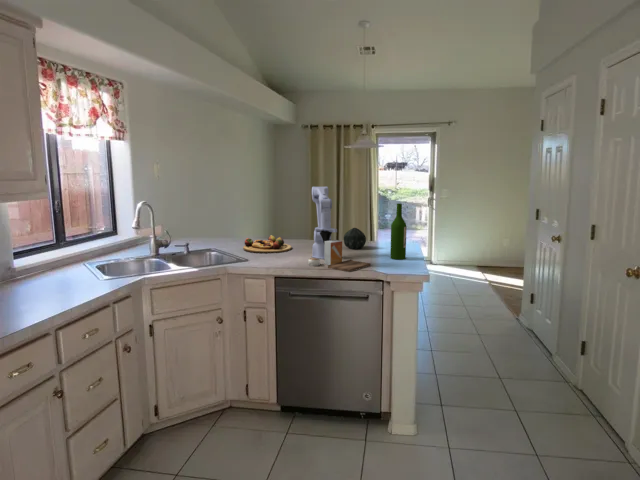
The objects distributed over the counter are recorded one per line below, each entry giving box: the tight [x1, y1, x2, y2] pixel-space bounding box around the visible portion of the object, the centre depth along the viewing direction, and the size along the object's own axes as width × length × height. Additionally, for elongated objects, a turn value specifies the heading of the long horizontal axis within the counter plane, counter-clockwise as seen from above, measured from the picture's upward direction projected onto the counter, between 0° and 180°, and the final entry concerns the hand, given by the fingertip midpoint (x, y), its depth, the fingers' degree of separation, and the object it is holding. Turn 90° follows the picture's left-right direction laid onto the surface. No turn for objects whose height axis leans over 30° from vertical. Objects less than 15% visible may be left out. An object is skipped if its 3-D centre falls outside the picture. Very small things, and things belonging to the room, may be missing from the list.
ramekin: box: [307, 257, 321, 267], centre depth 251 cm, size 6×6×4 cm
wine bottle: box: [389, 203, 407, 261], centre depth 267 cm, size 9×9×32 cm
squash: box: [343, 227, 367, 250], centre depth 302 cm, size 14×15×15 cm
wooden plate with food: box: [242, 234, 293, 254], centre depth 300 cm, size 32×32×8 cm
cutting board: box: [327, 259, 372, 273], centre depth 247 cm, size 14×20×2 cm
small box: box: [323, 239, 343, 266], centre depth 253 cm, size 8×6×13 cm
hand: (325, 244), depth 256 cm, fingers closed
